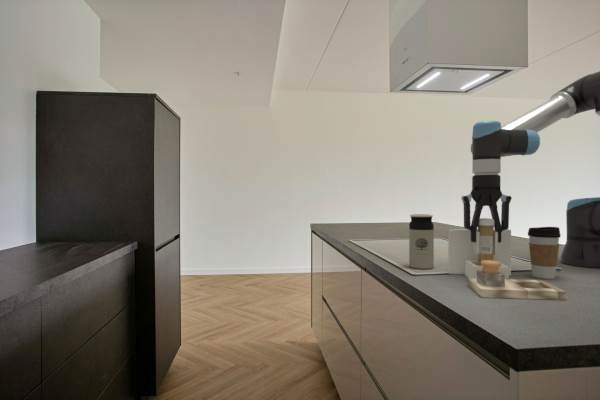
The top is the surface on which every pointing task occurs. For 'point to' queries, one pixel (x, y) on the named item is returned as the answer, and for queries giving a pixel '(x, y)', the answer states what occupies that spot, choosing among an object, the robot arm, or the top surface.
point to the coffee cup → (544, 251)
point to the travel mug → (421, 241)
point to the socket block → (513, 287)
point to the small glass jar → (490, 266)
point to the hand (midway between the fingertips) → (485, 253)
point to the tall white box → (466, 259)
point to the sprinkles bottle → (486, 239)
